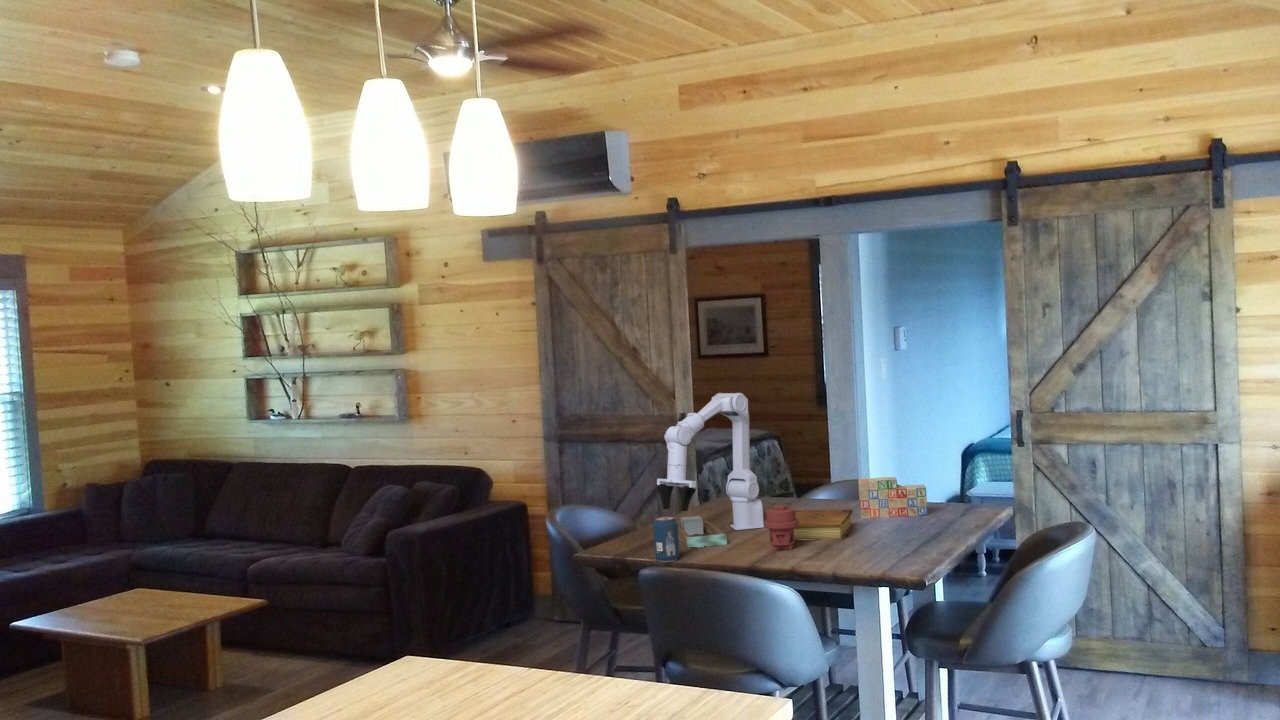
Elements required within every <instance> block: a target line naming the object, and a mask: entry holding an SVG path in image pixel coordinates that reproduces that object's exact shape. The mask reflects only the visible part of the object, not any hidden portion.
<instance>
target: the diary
mask: <svg viewBox="0 0 1280 720" xmlns="http://www.w3.org/2000/svg"><path fill="white" fill-rule="evenodd" d="M852 514H853V509H808V510H807V509H800V510H799V509H797V510H796V509H795V518H796V519H798V520H799V525H798V526H797V527H794V539H814V540H813V541H824V540H823V539H839V540H838V541H843V540H844V539H845V538H846V536H847V535H848V533H849V532H850V531H851V529H852V528H853V527H852V526H854V524H853V523H852V520H851V516H852ZM849 530H850V531H849ZM846 534H847V535H846ZM843 538H844V539H843ZM815 539H816V540H815ZM817 539H818V540H817ZM819 539H820V540H819ZM821 539H822V540H821ZM842 539H843V540H842Z"/></svg>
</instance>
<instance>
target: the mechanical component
mask: <svg viewBox="0 0 1280 720" xmlns="http://www.w3.org/2000/svg"><path fill="white" fill-rule="evenodd" d="M795 511H796V509H795V508H793V507H788V505H785V504H779V505H774V506H773V507H771V508H768V509H766V511H765V513H766V515H765V516H766V520H763V523H764V527H763V528H766V529H769V541H770V545H771V550H772V549H783V550H785V548H786V549H792V548H793V549H794V544H795V542H796V540H795V539H794V527H797V526H798V525H799V520H798V519H796V518H795ZM793 549H792V550H793Z"/></svg>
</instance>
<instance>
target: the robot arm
mask: <svg viewBox="0 0 1280 720" xmlns="http://www.w3.org/2000/svg"><path fill="white" fill-rule="evenodd" d="M717 414H721V415H723V416H725V417H727V418H728V419H729V420H730V421H731V422H732V424H731V425H732V471H731V472H730V473H729V474H728V475H727V482H726V484H725V486H726V487H725V492H726V495H727V496H728V498H729V500H730V501H731V505H732V506H731V507H732V518H733V519H732V521H733V524H730V527H731V528H732V529H733V530H735V531H740V530H752V529H760V528H762V529H763V528H765V527H764V511H763V503H762V500H761V499H760V498H757V497H758V495H759V492H760V487H759V486H760V485H759V483H758V476H757V475H756V474H755V473H754V472H753V471H752V470H751V458H750V457H751V453H750V452H751V451H750V448H751V447H750V446H751V443H750V440H751V439H750V413H749V399H748V398H747V396H745V394H743V393H742V392H729V393H728V392H724V393H723V392H718V393H715V395H714V396H712V397H711V400H710V401H709V402H708V403H707V404H706V405H705V406H703V407H702V408H701V409H700V410H699V411H698V412H697V413H696V412H689V413H688V414H686V417H684V419H681V421H678V422H677V424H676V425H675V426H673V425H672V426H670V427H668V429H667V430H666V431H665V434H664V440H665V442H666V449H667V468H666V469H667V471H666V473H667V474H666V478H657V479H656V485H657V486H656V490H657V492H658V494H659V498H660V501H661V505H662V510H670V507H671V496H672V493H673V490H674V487H678V491H679V496H680V497H679V498H680V511H681V512H688V510H689V507H690V503H691V500H692V497H693V496H694V494H695V493H696V491H697V490H696V487H697V481H696V480H687V479H686V478H687V458H688V457H687V455H688V453H687V452H688V445H689V444H690V443H691V442H692V438H693V437H694V436H695V435H696V434H697V433H698V432H699V431H701V430H702V429H703V428H704V427H705V422H707V421H708V420H710V419H711V418H713V417H714V416H715V415H717Z"/></svg>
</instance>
